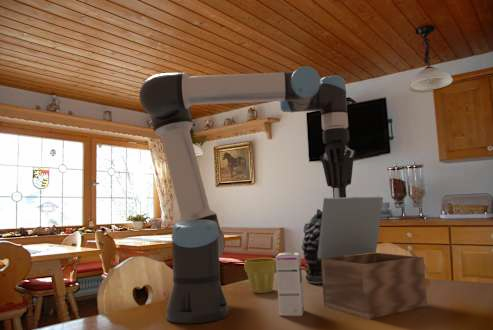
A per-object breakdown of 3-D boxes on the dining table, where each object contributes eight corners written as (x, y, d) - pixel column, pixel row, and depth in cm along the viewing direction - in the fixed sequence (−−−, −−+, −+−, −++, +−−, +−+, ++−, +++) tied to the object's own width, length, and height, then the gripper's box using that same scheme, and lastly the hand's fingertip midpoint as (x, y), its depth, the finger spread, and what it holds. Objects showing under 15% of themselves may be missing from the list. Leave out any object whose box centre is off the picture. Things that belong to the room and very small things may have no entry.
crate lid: (326, 199, 105) (323, 198, 106) (320, 258, 107) (317, 257, 108) (383, 197, 115) (379, 196, 116) (376, 252, 117) (372, 250, 118)
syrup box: (302, 316, 96) (299, 254, 98) (278, 316, 98) (275, 254, 99) (304, 310, 102) (301, 251, 104) (280, 310, 103) (278, 252, 105)
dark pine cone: (306, 275, 155) (303, 209, 157) (347, 275, 151) (342, 208, 154) (299, 285, 135) (295, 210, 137) (346, 286, 131) (341, 208, 134)
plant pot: (240, 294, 125) (239, 261, 126) (251, 287, 135) (250, 257, 136) (273, 295, 122) (271, 261, 123) (281, 288, 131) (280, 257, 132)
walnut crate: (369, 319, 92) (365, 265, 93) (323, 305, 106) (321, 259, 107) (427, 306, 102) (423, 257, 103) (379, 295, 115) (376, 252, 117)
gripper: (361, 125, 114) (367, 209, 112) (330, 134, 126) (335, 210, 123) (340, 124, 111) (346, 210, 108) (311, 132, 122) (315, 211, 120)
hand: (340, 210), depth 116 cm, fingers closed
